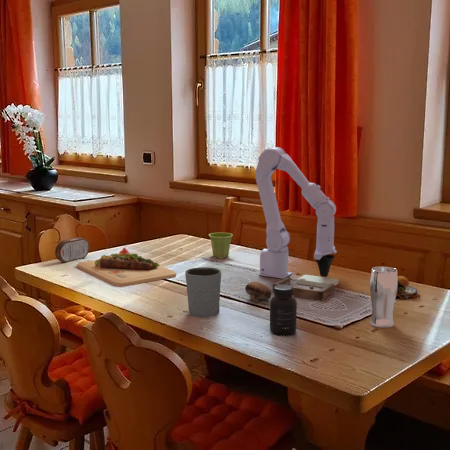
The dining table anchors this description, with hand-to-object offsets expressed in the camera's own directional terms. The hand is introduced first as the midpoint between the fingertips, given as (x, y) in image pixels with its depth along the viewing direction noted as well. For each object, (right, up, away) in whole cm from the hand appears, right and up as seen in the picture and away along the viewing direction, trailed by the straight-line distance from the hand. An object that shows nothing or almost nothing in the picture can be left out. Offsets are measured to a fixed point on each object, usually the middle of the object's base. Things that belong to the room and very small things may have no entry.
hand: (324, 276), depth 206 cm
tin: (-92, +4, +27) cm, 96 cm away
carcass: (-9, -4, -14) cm, 17 cm away
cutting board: (-69, 0, +11) cm, 70 cm away
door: (-3, -3, -5) cm, 6 cm away
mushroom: (-24, -6, -24) cm, 34 cm away
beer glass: (+8, -9, -44) cm, 46 cm away
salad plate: (+20, -5, -16) cm, 26 cm away
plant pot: (-35, +5, +34) cm, 49 cm away
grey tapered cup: (-40, -7, -35) cm, 53 cm away
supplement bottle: (-19, -10, -51) cm, 55 cm away
